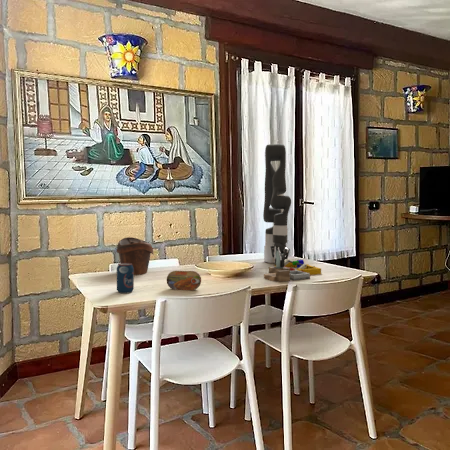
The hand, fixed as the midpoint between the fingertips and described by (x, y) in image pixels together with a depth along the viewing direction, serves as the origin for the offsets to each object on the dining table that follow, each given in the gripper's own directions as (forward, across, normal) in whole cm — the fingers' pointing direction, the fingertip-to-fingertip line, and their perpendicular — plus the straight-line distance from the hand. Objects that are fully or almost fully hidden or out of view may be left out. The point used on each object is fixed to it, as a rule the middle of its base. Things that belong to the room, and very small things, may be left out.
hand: (279, 266), depth 239 cm
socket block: (+4, 0, 0) cm, 4 cm away
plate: (+4, +11, -11) cm, 16 cm away
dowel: (+4, 0, 0) cm, 4 cm away
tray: (+4, +13, 0) cm, 14 cm away
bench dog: (+4, +17, -11) cm, 21 cm away
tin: (+4, +12, -61) cm, 62 cm away
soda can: (+4, +5, -85) cm, 85 cm away
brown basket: (+4, -36, -66) cm, 75 cm away
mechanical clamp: (+5, 0, +15) cm, 16 cm away
